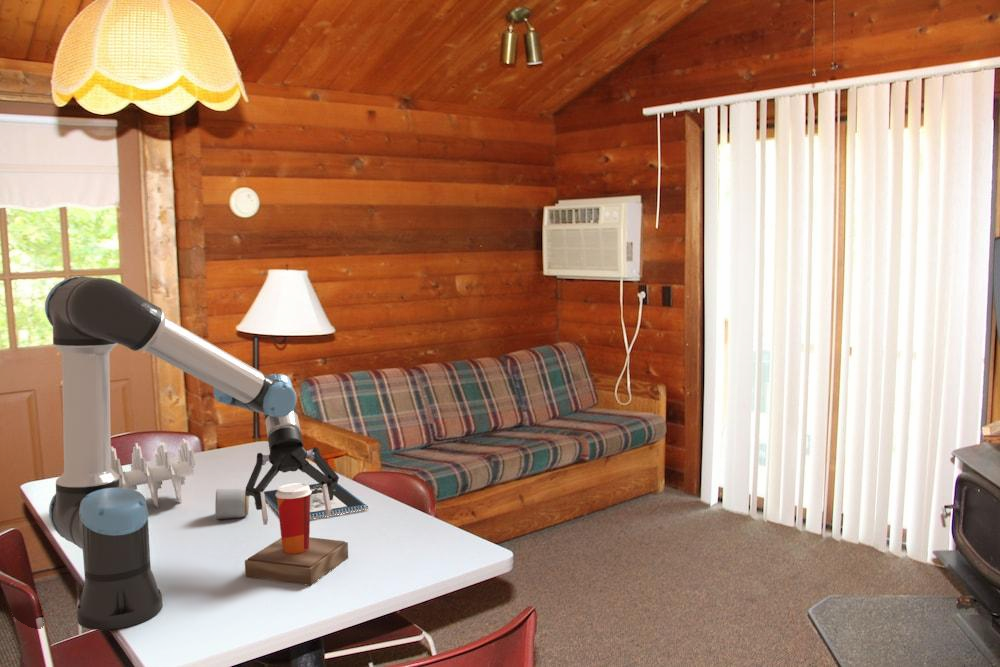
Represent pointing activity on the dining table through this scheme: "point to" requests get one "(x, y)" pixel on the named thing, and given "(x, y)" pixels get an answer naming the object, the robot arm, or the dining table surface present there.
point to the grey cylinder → (231, 503)
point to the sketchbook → (339, 503)
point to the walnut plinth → (297, 561)
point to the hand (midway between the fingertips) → (298, 517)
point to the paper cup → (294, 517)
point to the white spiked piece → (156, 469)
